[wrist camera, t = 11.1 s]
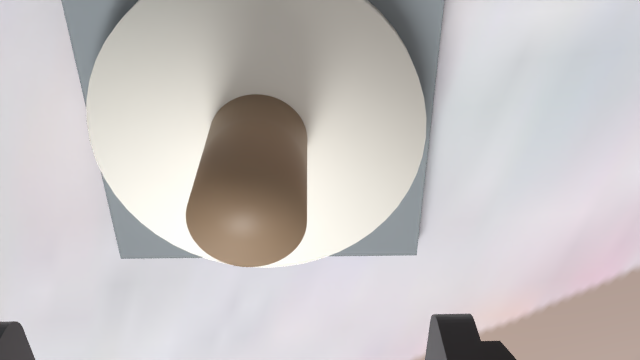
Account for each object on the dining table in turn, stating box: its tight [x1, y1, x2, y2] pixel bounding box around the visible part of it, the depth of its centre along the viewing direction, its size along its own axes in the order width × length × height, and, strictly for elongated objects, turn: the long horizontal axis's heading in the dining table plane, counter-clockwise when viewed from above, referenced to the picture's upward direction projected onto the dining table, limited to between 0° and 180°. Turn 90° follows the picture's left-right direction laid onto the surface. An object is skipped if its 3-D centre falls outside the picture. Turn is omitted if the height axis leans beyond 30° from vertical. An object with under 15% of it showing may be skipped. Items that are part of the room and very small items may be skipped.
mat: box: [61, 0, 444, 259], centre depth 21 cm, size 12×12×1 cm
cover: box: [86, 0, 427, 268], centre depth 18 cm, size 11×11×6 cm
